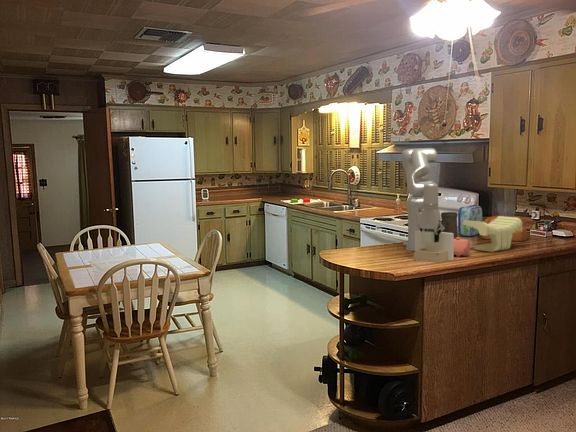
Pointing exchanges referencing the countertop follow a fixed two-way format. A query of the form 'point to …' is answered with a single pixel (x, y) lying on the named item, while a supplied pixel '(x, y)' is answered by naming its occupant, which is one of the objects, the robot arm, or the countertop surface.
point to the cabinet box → (428, 236)
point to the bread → (515, 236)
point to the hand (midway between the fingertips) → (430, 241)
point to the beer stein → (449, 222)
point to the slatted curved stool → (496, 232)
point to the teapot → (461, 247)
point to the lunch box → (469, 214)
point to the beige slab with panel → (434, 248)
